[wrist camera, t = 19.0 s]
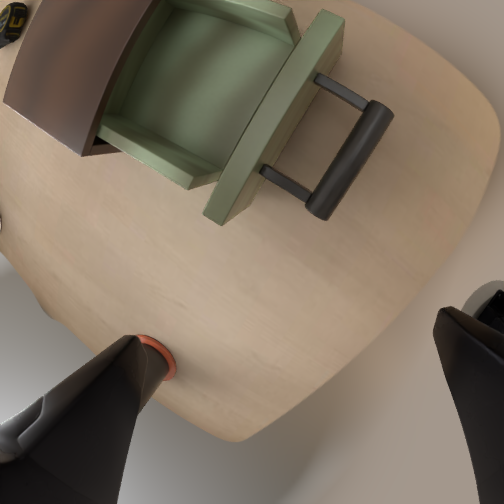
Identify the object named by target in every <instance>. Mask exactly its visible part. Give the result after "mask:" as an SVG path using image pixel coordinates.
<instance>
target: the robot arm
mask: <svg viewBox="0 0 504 504" xmlns="http://www.w3.org/2000/svg"><path fill="white" fill-rule="evenodd" d="M499 295H500V296H499ZM433 337H434V341H435V344H436V347H437V350H438V354H439V357H440V360H441V364H442V368H443V371H444V375H445V378H446V381H447V383H448V386H449V389H450V391H451V394H452V397H453V400H454V403H455V406H456V409H457V412H458V415H459V418H460V421H461V424H462V427H463V431H464V434H465V438H466V441H467V445H468V448H469V453H470V457H471V461H472V465H473V469H474V474H475V478H476V484H477V490H478V495H479V501H480V504H504V291H503V290H501V289H499V290H497V292H496V293H495V294H494V296H493V297H492V299H491V300H490V302H489V303H488V305H487V306H486V308H485V309H484V310H483V312H482V313H481V314H480V316H479V317H478V319H477V320H476V319H475V318H473V317H471V316H469V315H467V314H465V313H464V312H462V311H460V310H458V309H456V308H454V307H452V306H449V307H444V308H441V309H440V310H439V311H438V315H437V318H436V322H435V325H434V329H433ZM147 362H148V357H147V354H146V351H145V349H144V347H143V345H142V343H141V341H140V339H139V337H138V336H136V335H124V336H123V337H122V338H120V339H119V340H117V341H116V342H115V343H113V344H112V345H111V346H109V347H108V348H107V349H105V350H104V351H102V352H101V353H100V354H98V355H97V356H96V357H94V358H93V359H92V360H90V361H89V362H88V363H86V364H85V365H84V366H82V367H81V368H80V369H78V370H77V371H75V372H74V373H73V374H71V375H70V376H69V377H67V378H66V379H65V380H63V381H62V382H61V383H59V384H58V385H56V386H55V387H54V388H52V389H51V390H50V391H48V392H47V393H46V394H44V396H42V397H40V398H39V399H38V400H36V401H35V402H34V403H32V404H31V405H29V406H28V407H27V408H25V409H24V410H22V411H21V412H19V413H18V414H16V415H15V416H13V417H12V418H10V419H8V420H7V421H5V422H3V423H2V424H0V504H117V500H118V495H119V491H120V486H121V481H122V476H123V472H124V467H125V463H126V458H127V454H128V450H129V446H130V442H131V438H132V434H133V430H134V426H135V422H136V418H137V415H138V411H139V407H140V403H141V398H142V392H143V386H144V380H145V374H146V368H147Z"/></svg>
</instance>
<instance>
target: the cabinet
mask: <svg viewBox="0 0 504 504" xmlns="http://www.w3.org/2000/svg"><path fill="white" fill-rule="evenodd" d="M160 1H161V0H42V2H41V4H40V6H39V8H38V10H37V12H36V14H35V16H34V18H33V20H32V22H31V24H30V26H29V28H28V31H27V33H26V35H25V37H24V40H23V42H22V45H21V47H20V50H19V52H18V55H17V57H16V60H15V63H14V66H13V69H12V72H11V75H10V78H9V81H8V84H7V88H6V91H5V95H4V98H3V103H4V104H6V105H7V106H9V107H10V108H11V109H13V110H14V111H16V112H17V113H19V114H20V115H21V116H23V117H24V118H26V119H27V120H28V121H30V122H31V123H33V124H34V125H36V126H37V127H38V128H40V129H41V130H43V131H44V132H46V133H47V134H49V135H50V136H51V137H53V138H54V139H56V140H57V141H59V142H60V143H62V144H63V145H65V146H66V147H67V148H69V149H70V150H72V151H73V152H75V153H76V154H78V155H79V156H81V157H84V156H92V155H100V154H108V153H117V152H123V151H122V150H120V149H118V148H117V147H115V146H113V145H111V144H110V143H108V142H106V141H105V140H103V139H101V138H100V137H98V136H96V132H97V130H98V127H99V124H100V121H101V119H102V116H103V113H104V111H105V108H106V106H107V103H108V101H109V98H110V96H111V93H112V91H113V89H114V86H115V84H116V82H117V80H118V77H119V75H120V73H121V71H122V69H123V67H124V65H125V63H126V61H127V59H128V57H129V55H130V53H131V51H132V49H133V47H134V45H135V43H136V41H137V40H138V38H139V36H140V34H141V32H142V31H143V29H144V27H145V25H146V24H147V22H148V20H149V19H150V17H151V15H152V14H153V12H154V11H155V9H156V8H157V6H158V4H159V3H160Z"/></svg>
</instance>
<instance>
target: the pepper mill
mask: <svg viewBox="0 0 504 504" xmlns="http://www.w3.org/2000/svg"><path fill="white" fill-rule="evenodd" d="M142 345H143V347H144V349H145V351H146V354H147V357H148V362H147V368H146V374H145V380H144V386H143V392H142V398H141V403H140V407H139V411H138V414H139V413H140V411H141V410H142V409H143V407H144V406H145V404H146V403H147V402H148V400H149V399H150V398H151V396H152V395H153V394H154V392H155V391H156V389H157V388H158V387H159V385H160V384H161V382H162V381H163V380H164V378H165V377H166V376H167V374H168V372H169V365H168V362H167V360H166V359H165V357H164V356H163V355H162V354H161V353H160V352H159V351H158V350H157V349H156V348H154V347H152V346H151V345H148V344H145V343H142ZM137 416H138V415H137Z"/></svg>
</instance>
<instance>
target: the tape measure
mask: <svg viewBox="0 0 504 504" xmlns="http://www.w3.org/2000/svg"><path fill="white" fill-rule="evenodd" d="M26 16H27V6H26V5H25V4H24V3H20V2H13V3H10V4H8V5H7V6H6V7H5V8H4V9H3V10H2V12H1V13H0V49H1V48H3V47H4V46H5V45H7V44H9V43H11V42H14V41H15V40H17V39H18V38H19V37H20V34H21V28H22V26H23V24H24V22H25V20H26Z"/></svg>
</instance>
